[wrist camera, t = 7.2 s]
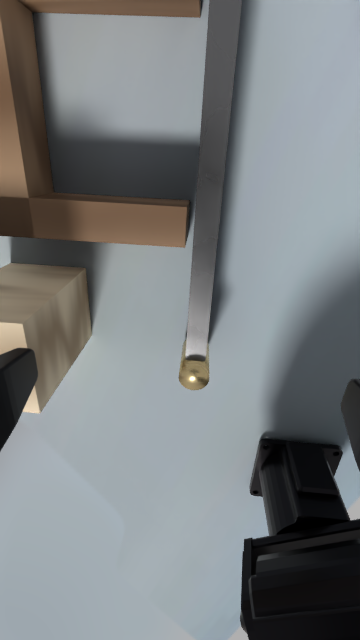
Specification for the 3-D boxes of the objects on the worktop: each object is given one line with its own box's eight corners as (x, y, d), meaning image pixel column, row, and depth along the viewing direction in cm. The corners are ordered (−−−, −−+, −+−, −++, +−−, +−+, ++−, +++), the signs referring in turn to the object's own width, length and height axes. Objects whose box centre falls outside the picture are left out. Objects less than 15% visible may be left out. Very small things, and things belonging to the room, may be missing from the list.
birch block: (91, 335, 23) (40, 413, 16) (24, 329, 23) (-57, 404, 16) (85, 267, 21) (22, 323, 14) (10, 262, 21) (-90, 315, 14)
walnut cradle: (187, 235, 19) (184, 247, 17) (26, 225, 20) (-2, 235, 17) (203, -43, 14) (202, -91, 11) (-19, -48, 14) (-70, -95, 12)
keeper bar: (207, 359, 23) (207, 391, 20) (182, 357, 23) (178, 388, 20) (254, -84, 13) (268, -160, 10) (209, -85, 13) (210, -161, 10)
